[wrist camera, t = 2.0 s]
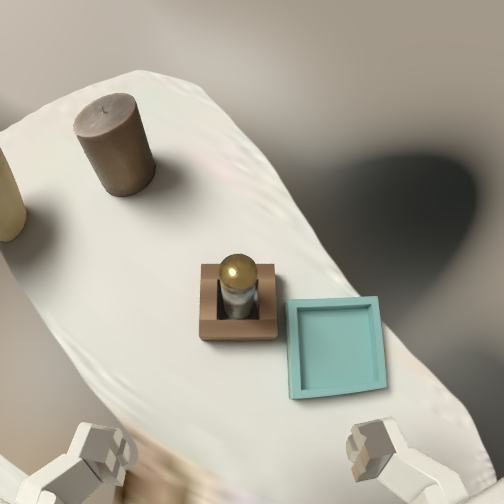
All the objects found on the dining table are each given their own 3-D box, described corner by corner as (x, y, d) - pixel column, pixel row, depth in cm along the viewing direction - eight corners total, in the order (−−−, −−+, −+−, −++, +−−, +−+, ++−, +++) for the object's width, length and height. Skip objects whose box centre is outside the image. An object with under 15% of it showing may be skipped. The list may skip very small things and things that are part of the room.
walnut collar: (274, 339, 37) (277, 336, 34) (201, 340, 36) (199, 336, 34) (271, 272, 41) (274, 263, 38) (203, 272, 40) (201, 263, 37)
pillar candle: (167, 164, 48) (149, 92, 34) (128, 206, 44) (95, 137, 31) (128, 146, 50) (106, 81, 36) (91, 184, 46) (57, 120, 32)
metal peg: (252, 319, 38) (258, 289, 27) (224, 319, 38) (218, 289, 27) (251, 292, 39) (257, 253, 28) (224, 292, 39) (219, 253, 28)
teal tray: (378, 387, 34) (386, 387, 32) (288, 398, 34) (292, 399, 31) (370, 301, 39) (377, 296, 37) (284, 305, 39) (287, 299, 37)
